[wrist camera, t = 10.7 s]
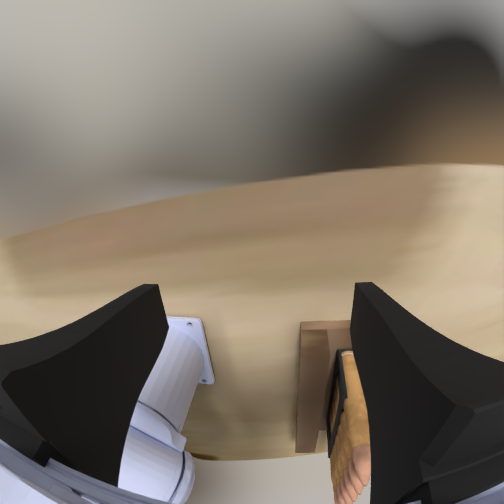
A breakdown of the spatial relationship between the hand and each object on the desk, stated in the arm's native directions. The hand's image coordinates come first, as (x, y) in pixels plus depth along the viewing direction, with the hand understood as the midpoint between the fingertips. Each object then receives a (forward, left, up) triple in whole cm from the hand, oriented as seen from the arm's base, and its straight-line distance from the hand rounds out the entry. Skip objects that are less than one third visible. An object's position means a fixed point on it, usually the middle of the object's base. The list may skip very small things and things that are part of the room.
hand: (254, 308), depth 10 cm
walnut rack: (+6, -16, -10) cm, 20 cm away
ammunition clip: (+6, -16, -10) cm, 20 cm away
